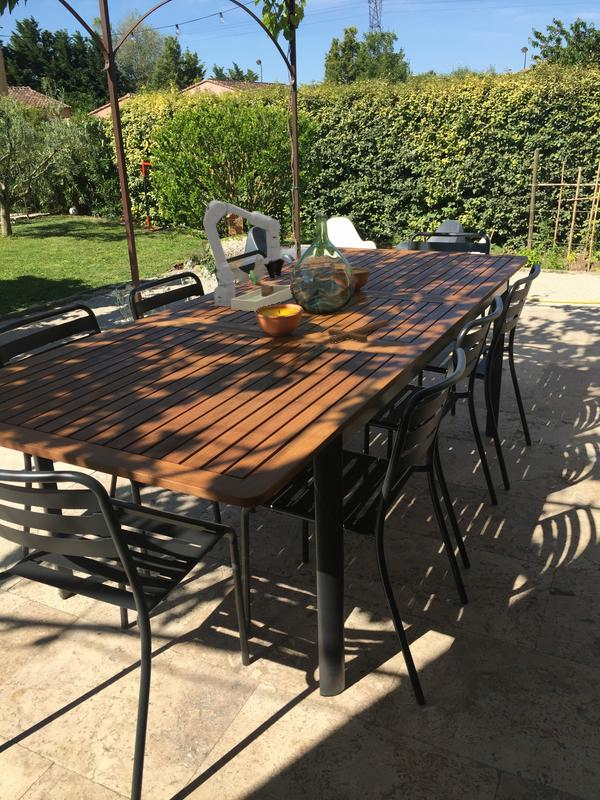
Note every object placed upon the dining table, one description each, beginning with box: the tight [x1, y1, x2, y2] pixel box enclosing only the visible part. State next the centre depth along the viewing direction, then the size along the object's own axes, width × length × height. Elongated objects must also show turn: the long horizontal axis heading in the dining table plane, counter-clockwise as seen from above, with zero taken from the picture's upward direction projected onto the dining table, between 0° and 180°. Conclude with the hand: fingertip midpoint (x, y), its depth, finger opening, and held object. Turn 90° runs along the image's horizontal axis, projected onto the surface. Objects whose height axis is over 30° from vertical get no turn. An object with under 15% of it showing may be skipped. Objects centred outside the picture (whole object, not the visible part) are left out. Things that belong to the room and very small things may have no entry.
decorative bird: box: [228, 252, 268, 286], centre depth 321 cm, size 24×10×15 cm
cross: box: [327, 319, 389, 344], centre depth 230 cm, size 16×2×30 cm
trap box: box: [230, 284, 293, 313], centre depth 283 cm, size 32×13×4 cm, turn 150°
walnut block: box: [260, 285, 274, 297], centre depth 285 cm, size 4×4×4 cm
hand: (275, 277), depth 288 cm, fingers open, 4 cm apart
